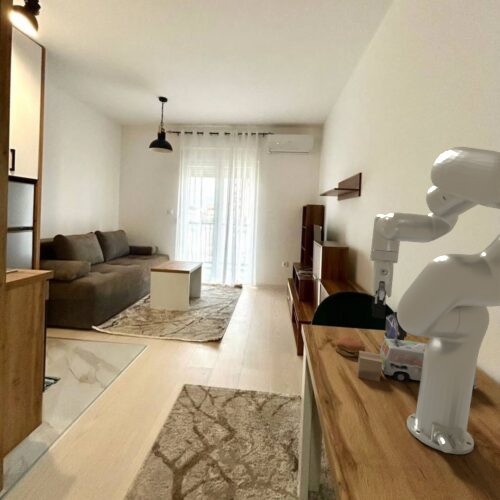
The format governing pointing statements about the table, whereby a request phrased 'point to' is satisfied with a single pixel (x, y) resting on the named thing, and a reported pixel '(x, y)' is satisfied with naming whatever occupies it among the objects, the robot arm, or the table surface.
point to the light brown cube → (369, 366)
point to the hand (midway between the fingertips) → (377, 313)
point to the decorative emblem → (394, 328)
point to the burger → (349, 347)
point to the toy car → (404, 359)
